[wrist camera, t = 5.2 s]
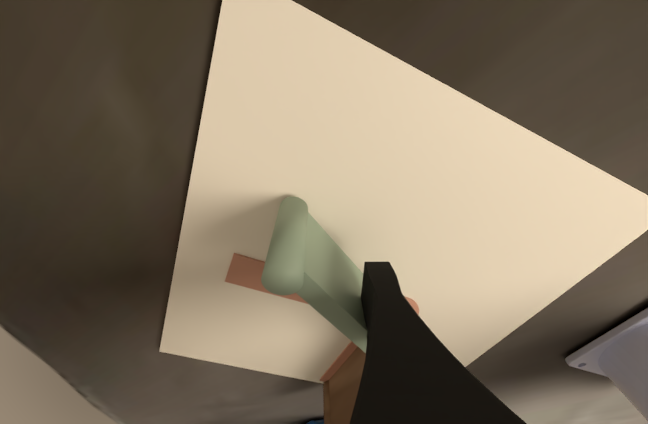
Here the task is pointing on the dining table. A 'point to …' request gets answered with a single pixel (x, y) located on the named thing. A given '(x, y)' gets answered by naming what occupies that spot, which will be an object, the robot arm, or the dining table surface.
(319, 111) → the card
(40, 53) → the dining table surface
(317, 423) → the snack cup
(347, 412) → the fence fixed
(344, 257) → the fence gate
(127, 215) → the dining table surface
